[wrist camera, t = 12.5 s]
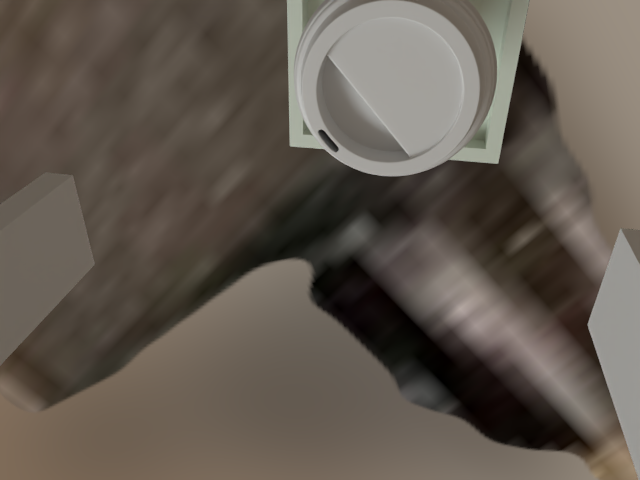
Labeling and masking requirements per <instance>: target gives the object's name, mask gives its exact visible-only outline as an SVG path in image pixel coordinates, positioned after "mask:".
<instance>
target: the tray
mask: <svg viewBox="0 0 640 480" xmlns="http://www.w3.org/2000/svg"><path fill="white" fill-rule="evenodd" d="M324 1H325V0H287V20H288V73H289V126H290V146H294V147H306V148H317V149H324V148H323V147H322V146H321V145H320V144H319V142H318V141H317V140H316V139H315V137H314V136H313V135H312V133H311V132H310V130H309V129H308V127H307V125H306V123H305V122H304V119H303V117H302V115H301V112H300V110H299V107H298V103H297V99H296V94H295V87H294V62H295V55H296V51H297V47H298V43H299V40H300V38H301V35H302V33H303V31H304V28H305V26H306V25H307V23H308V21H309V19H310V18H311V16H312V15H313V14H314V12H315V11H316V10H317V8H318V7H319V6H320V5H321V4H322V3H323V2H324ZM469 1H470V2H471V4H472V5H473V6H474V7H475V8H476V10H477V11H478V12H479V14H480V15H481V17H482V18H483V20H484V22H485V24H486V25H487V27H488V30H489V32H490V34H491V37H492V40H493V43H494V47H495V52H496V59H497V83H496V89H495V94H494V98H493V101H492V104H491V107H490V110H489V112H488V114H487V116H486V118H485V120H484V122H483V124H482V125H481V127H480V128H479V130H478V131H477V133H476V134H475V135H474V137H473V138H472V139H471V140H470V141H469V142H468V144H467V145H466V146H465V147H464V148H463V149H461V150H460V151H459V152H458V153H457V154H455V155H454V156H453V157H451V158H450V159H448V160H460V161H472V162H484V163H496V164H498V161H499V156H500V151H501V146H502V141H503V135H504V130H505V125H506V120H507V115H508V110H509V104H510V99H511V94H512V89H513V84H514V78H515V73H516V68H517V63H518V58H519V53H520V47H521V42H522V37H523V32H524V27H525V21H526V16H527V11H528V6H529V1H530V0H469Z"/></svg>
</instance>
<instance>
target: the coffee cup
mask: <svg viewBox="0 0 640 480" xmlns="http://www.w3.org/2000/svg"><path fill="white" fill-rule="evenodd" d="M496 83H497V59H496V52H495V47H494V43H493V40H492V37H491V34H490V32H489V30H488V27H487V25H486V24H485V22H484V20H483V18H482V17H481V15H480V14H479V12H478V11H477V10H476V8H475V7H474V6H473V5H472V4H471V2H470V1H469V0H325V1H324V2H323V3H322V4H321V5H320V6H319V7H318V8H317V10H316V11H315V12H314V14H313V15H312V16H311V18H310V19H309V21H308V23H307V25H306V26H305V28H304V31H303V33H302V35H301V38H300V40H299V43H298V47H297V51H296V55H295V62H294V87H295V94H296V99H297V103H298V107H299V110H300V112H301V115H302V117H303V119H304V122H305V123H306V125H307V127H308V129H309V130H310V132H311V133H312V135H313V136H314V137H315V139H316V140H317V141H318V142H319V144H320V145H321V146H322V147H323V148H324V149H325V150H326V151H327V152H329V153H330V154H331V155H332V156H333V157H335V158H336V159H338V160H339V161H341V162H342V163H344V164H346V165H348V166H350V167H352V168H354V169H357V170H359V171H362V172H366V173H369V174H374V175H381V176H404V175H411V174H415V173H419V172H423V171H426V170H428V169H431V168H433V167H436V166H438V165H440V164H442V163H443V162H445V161H447V160H448V159H450V158H451V157H453V156H454V155H455V154H457V153H458V152H459V151H460V150H461V149H463V148H464V147H465V146H466V145H467V144H468V142H469V141H470V140H471V139H472V138H473V137H474V135H475V134H476V133H477V131H478V130H479V128H480V127H481V125H482V124H483V122H484V120H485V118H486V116H487V114H488V112H489V110H490V107H491V104H492V101H493V98H494V94H495V89H496Z"/></svg>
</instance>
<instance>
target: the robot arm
mask: <svg viewBox="0 0 640 480" xmlns="http://www.w3.org/2000/svg"><path fill="white" fill-rule="evenodd" d="M94 265H95V264H94V260H93V256H92V252H91V248H90V244H89V240H88V235H87V231H86V227H85V223H84V219H83V215H82V211H81V207H80V203H79V199H78V195H77V191H76V187H75V183H74V179H73V175H65V174H55V173H44V174H43V175H41V176H40V177H38V178H37V179H36V180H34V181H33V182H31V183H30V184H29V185H27V186H26V187H24V188H23V189H21V190H20V191H19V192H17V193H16V194H14V195H13V196H12V197H10V198H9V199H7V200H6V201H4V202H3V203H2V204H0V365H1V364H2V363H3V362H4V361H5V360H6V359H7V358H8V357H9V356H10V354H11V353H12V352H13V351H14V350H15V349H16V348H17V347H18V346H19V345H20V344H21V343H22V342H23V341H24V339H25V338H26V337H27V336H28V335H29V334H30V333H31V332H32V331H33V330H34V329H35V328H36V327H37V326H38V325H39V323H40V322H41V321H42V320H43V319H44V318H45V317H46V316H47V315H48V314H49V313H50V312H51V311H52V310H53V308H54V307H55V306H56V305H57V304H58V303H59V302H60V301H61V300H62V299H63V298H64V297H65V296H66V295H67V293H68V292H69V291H70V290H71V289H72V288H73V287H74V286H75V285H76V284H77V283H78V282H79V281H80V280H81V279H82V277H83V276H84V275H85V274H86V273H87V272H88V271H89V270H90V269H91V268H92V267H93V266H94ZM588 328H589V331H590V334H591V337H592V340H593V343H594V346H595V349H596V352H597V355H598V358H599V361H600V364H601V367H602V370H603V373H604V376H605V379H606V382H607V385H608V388H609V391H610V394H611V397H612V400H613V403H614V406H615V409H616V412H617V415H618V418H619V421H620V424H621V427H622V430H623V433H624V436H625V439H626V442H627V445H628V449H629V452H630V455H631V458H632V461H633V464H634V467H635V470H636V473H637V476H638V479H639V480H640V230H633V229H622V228H621V229H620V232H619V235H618V238H617V241H616V243H615V246H614V249H613V252H612V255H611V258H610V261H609V264H608V267H607V269H606V272H605V275H604V278H603V281H602V284H601V287H600V290H599V293H598V296H597V299H596V302H595V305H594V307H593V310H592V313H591V316H590V319H589V322H588Z"/></svg>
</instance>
